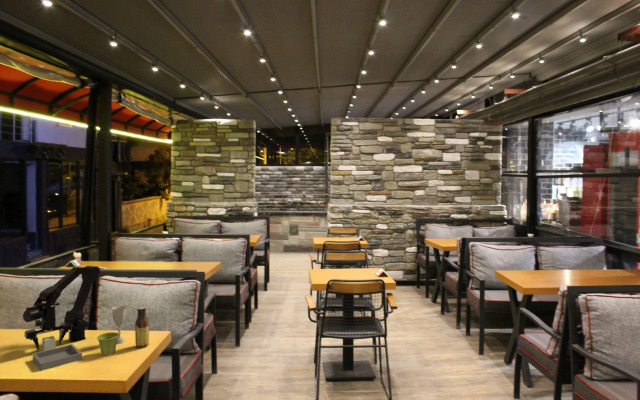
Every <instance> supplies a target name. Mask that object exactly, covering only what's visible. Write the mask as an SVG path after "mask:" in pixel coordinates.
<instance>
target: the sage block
mask: <svg viewBox="0 0 640 400" xmlns="http://www.w3.org/2000/svg"><path fill="white" fill-rule="evenodd" d="M41 340H42V341H41V343H42V344H41V349H42V351H45V350H50V349H54V348H56V338H55V336H54V335H51V336H48V337H46V336H45V337H42V339H41Z"/></svg>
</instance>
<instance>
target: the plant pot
mask: <svg viewBox="0 0 640 400" xmlns="http://www.w3.org/2000/svg"><path fill="white" fill-rule="evenodd" d="M118 336H119V333H118V332H116V331H111V332H110V331H109V332H104V333H100V334H98V335H97V336H96V339H97V341H98V344H99V345H98V346H99V350H100V355H101V356H110V355H113V354H115V353H116V349H117V344H116V343H117V338H118Z"/></svg>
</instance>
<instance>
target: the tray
mask: <svg viewBox="0 0 640 400" xmlns="http://www.w3.org/2000/svg"><path fill="white" fill-rule="evenodd" d="M82 360H83V353H82V352H81V351H80V349H78V348H77V347H76V346H75V345H74V344H73V343H71V344H67V345H62V346H59V347H55V348H54V349H50V350H45V351H43V350H42V351H38V352H33V353H32V361H33V362H34V364H35V365H36V366H37V367H38V369H39V370H40V371H46V370H49V369H53V368H57V367H60V366H63V365H67V364H72V363H74V362H77V361H82Z"/></svg>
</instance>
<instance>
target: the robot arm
mask: <svg viewBox="0 0 640 400" xmlns="http://www.w3.org/2000/svg"><path fill="white" fill-rule="evenodd" d="M100 274H101V269H100V267H99V266H96V265H85V266H84V267H83V266H73V267H72V268H71V269H70V270H69V271H68V272H67V273H66V274H65V275H64V276H62V277H61V278H60V279H59V280H58V281H57V282H55V284H53V285H52V286H49V287H46V288H45V289H44V290H42V291H40V293H39V294H38V297H37V299H36V300H35V302H34V303H33V306H28V307H25V310H24V312H23V314H22V319H23V320H24V322H26V323H30V322H33V321H34V327H35V328H36V327H37V328H38V327H39V329H38V330H36V329H35V328H31V329H28V330H25V331H24V332H23V333H24V335H23V337H24V338H25V339H26V340H29V341H33V343H34V346H35V348H36V350H37V351H39V350H40V345H39V344H40V343H39V337H38V335H42V334H45V333H51V332H55V331H58V332H59V334H58V345H59V346H61V344H62V342H63V340H64V337H65V336H66V334H67V333H68V340H69V341H70V342H71V343H75V342H79V341H80V342H81V341H84V340H86V339H87V337H86V328H88V324H89V322H87V321H86V320H84V318H85V313H84V309H85V307H86V302H87V300H88V296H89V294H90V291H91V288H92V285H93V284H94V282H95V281H96V280H97V279H98V277H99V275H100ZM79 276H81V280H82V281H81V284H80V287H79V290H78V293H77V295H76V298H75V300H74V304H73V306H72V308H71V309H70V310H67V311H66V312H65V316H64V318H63V319H64V321H63V322H61V323H60V324H59V325H56V323H57V322H56V321H57V317H56V307H57V306H60V304H61V303H60V302H58V301H57V300H58V299H59V297H60V296H61V295H62V292H63V291H64V290H65V289H66V288H67V287H68V286H70V285H71V283H73V282H74V281H75V280H76V279H77V278H78V277H79Z"/></svg>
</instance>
